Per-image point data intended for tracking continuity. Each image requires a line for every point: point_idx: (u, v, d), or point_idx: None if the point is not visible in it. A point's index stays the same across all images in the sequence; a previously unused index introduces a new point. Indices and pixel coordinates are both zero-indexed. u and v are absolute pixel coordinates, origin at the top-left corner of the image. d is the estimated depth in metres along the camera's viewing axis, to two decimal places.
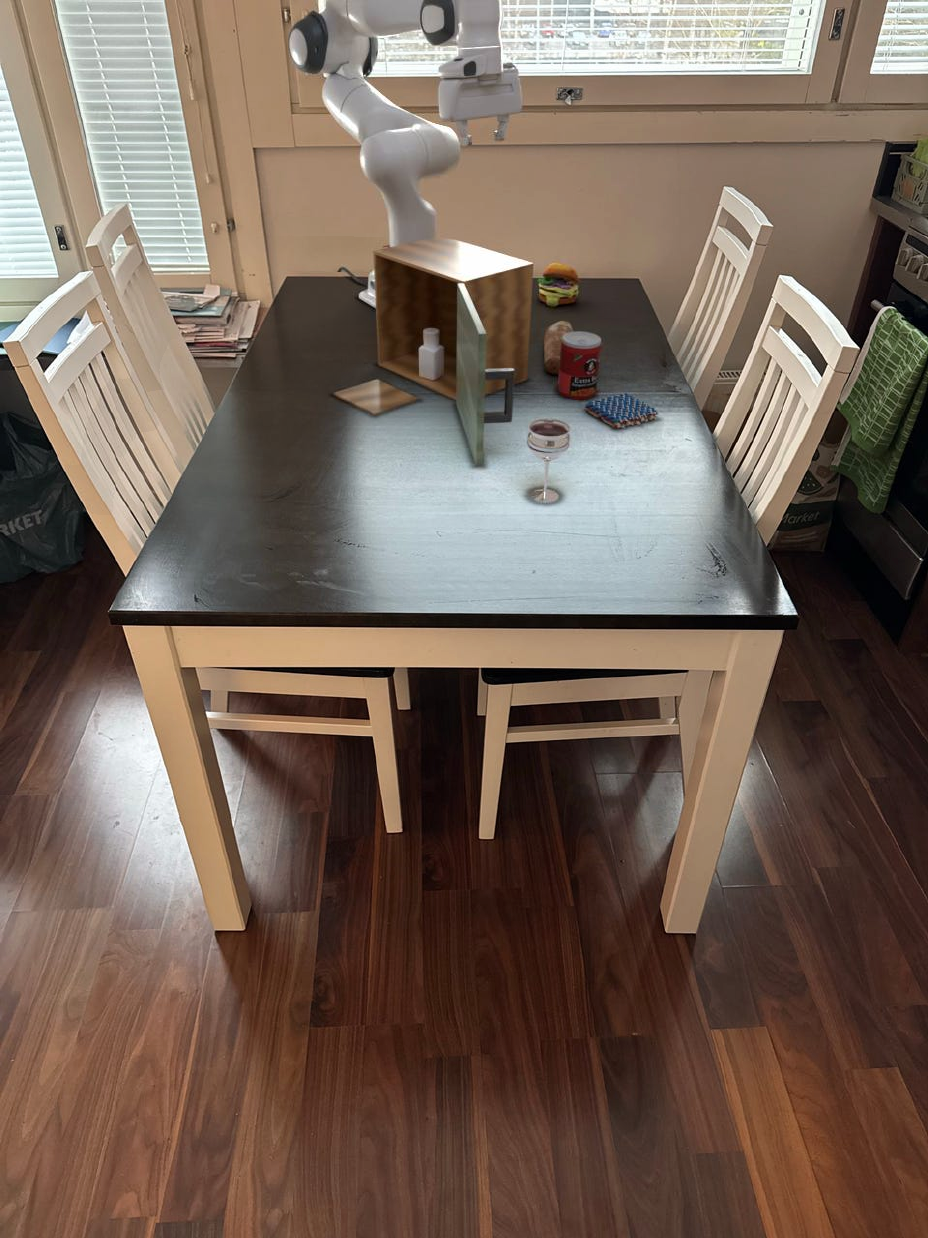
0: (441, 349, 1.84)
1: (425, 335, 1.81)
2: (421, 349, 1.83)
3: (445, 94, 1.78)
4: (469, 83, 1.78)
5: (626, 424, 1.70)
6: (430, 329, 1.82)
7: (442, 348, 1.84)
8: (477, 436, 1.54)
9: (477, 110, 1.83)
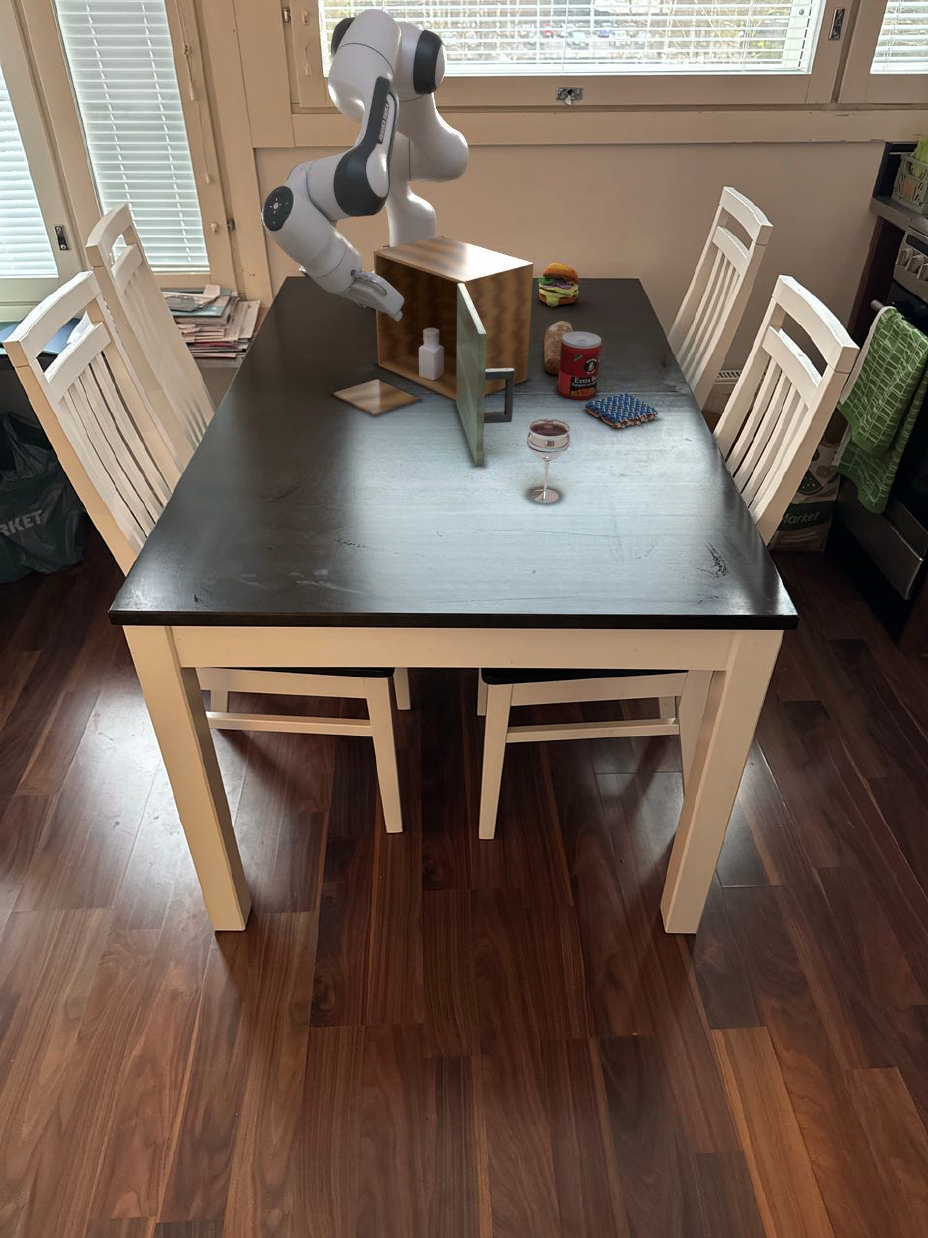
0: (441, 349, 1.84)
1: (425, 335, 1.81)
2: (421, 349, 1.83)
3: None
4: None
5: (626, 424, 1.70)
6: (430, 329, 1.82)
7: (442, 348, 1.84)
8: (477, 436, 1.54)
9: (346, 296, 1.68)
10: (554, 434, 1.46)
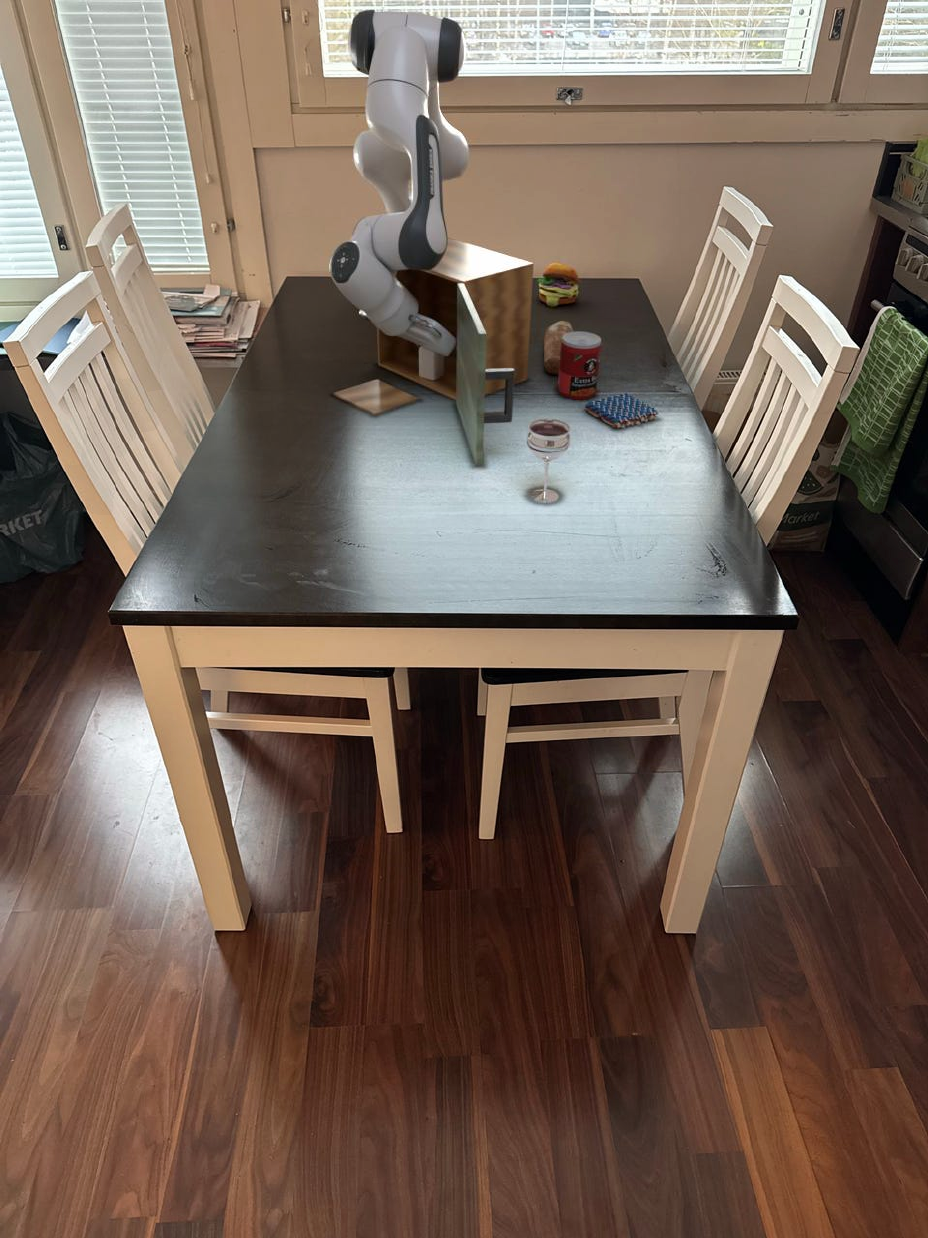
0: None
1: None
2: (421, 349, 1.83)
3: None
4: None
5: (626, 424, 1.70)
6: None
7: None
8: (477, 436, 1.54)
9: (402, 336, 1.82)
10: (554, 434, 1.46)
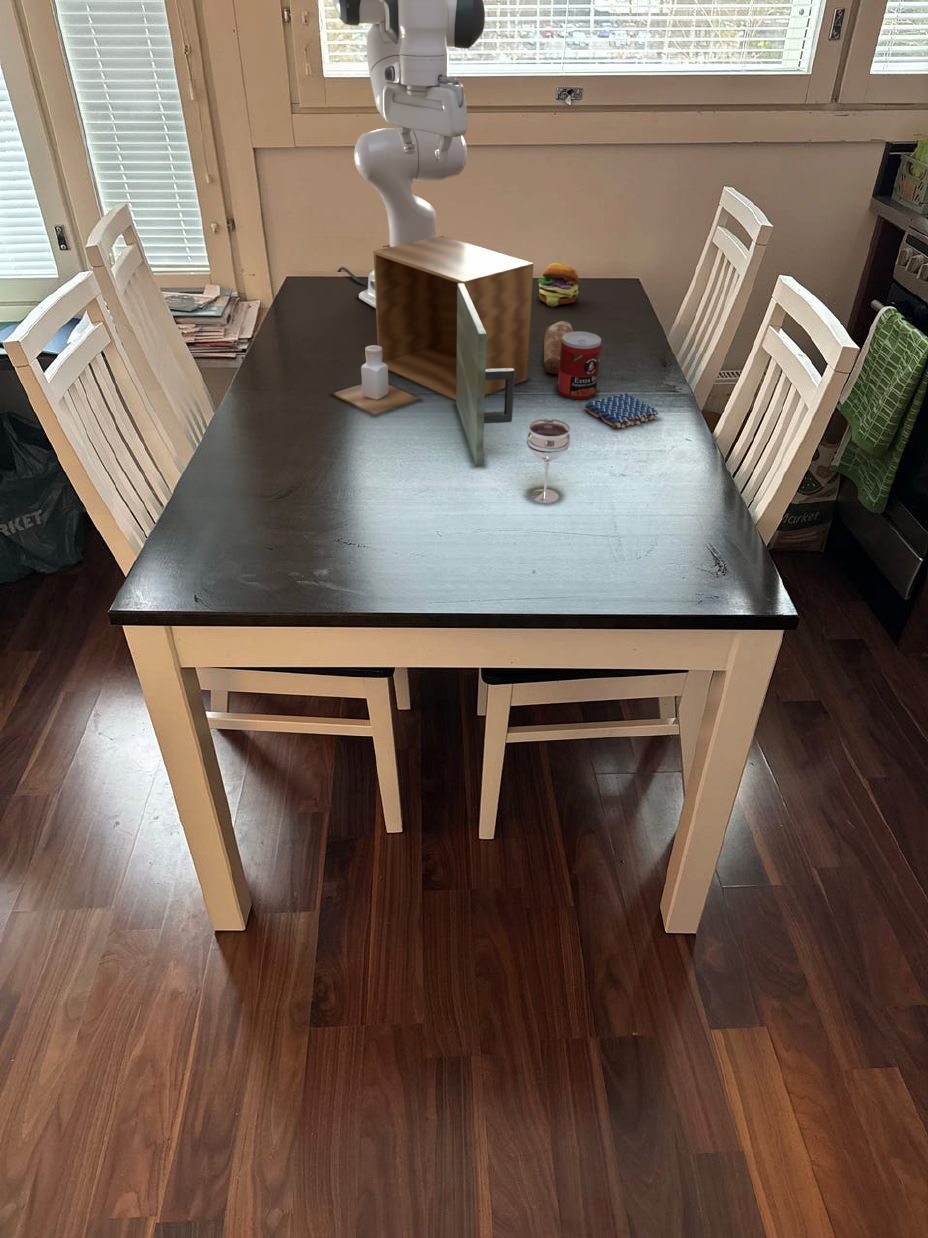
0: (384, 367, 1.76)
1: (367, 353, 1.74)
2: (363, 367, 1.75)
3: None
4: (395, 89, 1.70)
5: (626, 424, 1.70)
6: (372, 347, 1.74)
7: (385, 366, 1.76)
8: (477, 436, 1.54)
9: (406, 119, 1.72)
10: (554, 434, 1.46)
